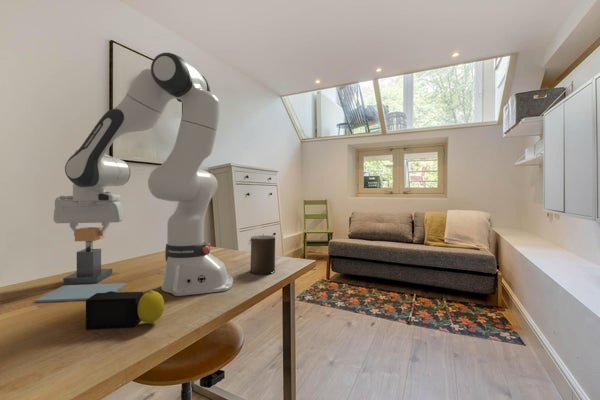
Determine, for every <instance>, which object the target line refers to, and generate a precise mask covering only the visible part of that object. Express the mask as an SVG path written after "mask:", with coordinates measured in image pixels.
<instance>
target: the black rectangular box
mask: <svg viewBox="0 0 600 400" xmlns="http://www.w3.org/2000/svg"><path fill="white" fill-rule="evenodd" d="M143 295H144V292H143V291H125V292H124V291H118V292H113V291H109V292H106V293H96V294H95V295H93V296H91V297H90V298H88V299H87V300H85V330H86V331H93V330H94V331H96V330H111V329H112V330H113V329H116V330H117V329H132V328H133V329H134V328H137V326H138V325H139V324H140V323H141V322H143V321H142V320H141V319H140V318H139V316H138V311H137V308H138V303H139V300H140V298H141V297H142V296H143Z"/></svg>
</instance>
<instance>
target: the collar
mask: <svg viewBox="0 0 600 400" xmlns="http://www.w3.org/2000/svg"><path fill="white" fill-rule="evenodd" d="M102 228H103V226H87V227H86V226H85V227H80V228H78V229H75V236H74V242H86V241H93V242H96V241H99V240H102V239H105V235H104V236H99V235H98V234H99V233H98V231H100V230H102Z"/></svg>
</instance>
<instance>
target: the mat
mask: <svg viewBox="0 0 600 400" xmlns="http://www.w3.org/2000/svg"><path fill="white" fill-rule="evenodd" d="M126 286H127V283H126V282H124V283H123V282H121V283H88V284H63V285H61V286H60V287H58V288H56V289H55V290H53V291H50V292H49V293H46V294H44V295H43V296H42V295H41V297H39V298H37V299H35V300H34V303H53V302H54V303H55V302H56V303H57V302H73V301H74V302H75V301H76V302H78V301H79V302H80V301H86V300H87V299H88V298H90V297H91V296H93V295H95V294H96V293H106V292H109V291H113V292H120V290H122V289H123V288H125V287H126Z"/></svg>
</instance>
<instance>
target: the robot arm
mask: <svg viewBox="0 0 600 400" xmlns="http://www.w3.org/2000/svg"><path fill="white" fill-rule="evenodd" d="M174 99H176V100H177V101H178V102H179V103H181V104H182V114H181V118H180V124H179V128H178V131H177V136H176V139H175V142H174V145H173V148H172V150H171V151H170V153H169V155H168V156H167V158H166V159H165V160H164V162H163V163H161V165H159V166H157V167H156V168H154V169H153V170H152V171H150V174H149V177H148V180H147V184H148V189H149V192H150V194H151V195H152V196H153V197H154V198H156V199H159V200H162V201H167V202H178V203H177V207H176V209H175V211H174V212H173V214H171V215H170V217H169V218H168V220H167V228H166V229H167V234H166V235H167V237H166V238H167V243H166V244H165V251H164V254H165V255H164V256H165V257H164V258H165V262H166V263H165V273H164V277H163V281H162V284H161V290H162V291H163V292H166V293H170V294H172V295H174V296H175V297H182V296H190V295H199V294H207V293H208V294H209V293H217V292H218V293H219V292H225V291H226V292H227V291H228V290H230V289H231V288H232V287H233V286H234V278H233V277H232V276H231V275H229V274H228V272H227V267H226V264H225V263H224V262H223V261H222V260H220V259H219V258H217V257H216V256H215V255H213V254H211V253H210V252H211V245H210V244H211V243H207V242H205V239H204V238H205V236H204V235H205V218H206V213H207V210H208V206H209V204H210V202H211V200H212V198H213V197H214V196H215V194H216V193H217V191H218V188H219V187H218V186H219V185H218V179H217V178H216V177H215V175H214V174H212V173H211V172H208V171H207V170H204V169H201V168H200V167H201V165H202V164H203V162H204V161H205V160H206V159H207V158H208V157H210V156H211V154H212V153H213V150H214V144H215V140H216V136H217V132H218V131H217V130H218V126H219V119H220V100H219V99H218V97H217V96H216V95H215V94H214V93H212V92H211V88H210V84H209V82H208V80H207V79H206V78H205V77H204V75H202V74H201V73H200V72H199V71H198V69H196V68H195V67H194V66H193V65H192V64H190V63H189V62H188V61H186V60H185V59H183V58H182V57H181V56H179V55H177V54H175V53H172V52H162V53H159V54H157V55H156V56H155V57H154V58H153V59H152V63H151V65H150V68H145V69H143V70H141V71H140V72H139V74H138V75H137V76H136V78H134V80H133V82H132V83H131V85H130V86H129V88H128V90H127V92H126V94H125V96H124V97H123V99H122V100H121V102H120V103H118V104H117V105H116V106H115V107H114V108H112V109H109V110H108V111H106V112H105V113H103V114H104V115H102V116H101V118H100V119H99V121H98V122H97V123H96V124H95V126H94V127H93V129H92V130H91V132H90V133H89V134H88V135H87V137H86V139H85V140H84V141H83V143H82V144H81V145H80V146H79V147H80V148H79V149H76V150H75V152H74V153H73V154H72V155H71V156H70V157H69V158H68V160H67V162H66V163H65V166H64V173H65V176H66V177H67V178H68V179H69V181H70V182H71V183H72V195H59V196H57V197H56V199H54V209H53V210H54V211H53V221H54V222H55V224H69V227H70V229H71V230H72V232H73V237H75V229H79V228H78V226H79V224H96V223H97V224H98V223H99V224H101V227H103V228H102V230H100V231H98V233H99V234H98V235H99V236H104V237H105V236H106V233H107V232H106V230H108V228H109V226H110V224H111V223H121V222H122V221H124V218H125V216H124V215H125V212H124V206H123V204H122V202H121V199H122V196H121V195H120V194H117V193H115V192H114V193H113V192H111V191H107V190H106V187H121V186H124V185H125V184H127V183H128V182H129V180H130V177H131V169H130V168H131V167H130V166H129V164H128V163H127V162H126V161H124V160H122V159H119V158H118V157H117V158H116V157H114V156H111V155H108V154H106V153H107V152H108V150H109V149H110V147H111V146H112V144H113V143H114V142H115V140H117V138H119V137H120V136H122V135H125V134H128V133H135V132H145V131H147V130H150V129H152V128H153V127H154V126H155V125H157V123H158V121H160V119H161V116H162V114H163V112H164V111H165V108H166V106H167V104H168V103H169V102H170V101H171V100H174Z"/></svg>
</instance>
